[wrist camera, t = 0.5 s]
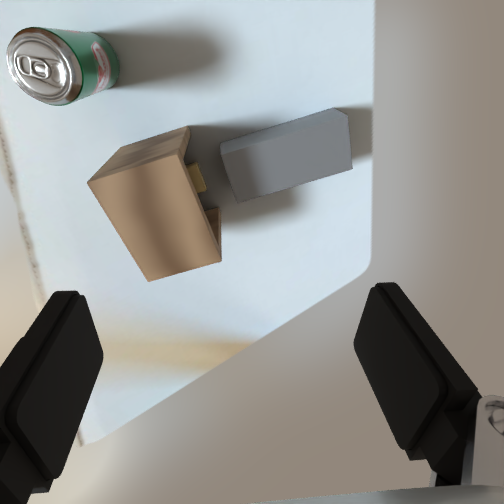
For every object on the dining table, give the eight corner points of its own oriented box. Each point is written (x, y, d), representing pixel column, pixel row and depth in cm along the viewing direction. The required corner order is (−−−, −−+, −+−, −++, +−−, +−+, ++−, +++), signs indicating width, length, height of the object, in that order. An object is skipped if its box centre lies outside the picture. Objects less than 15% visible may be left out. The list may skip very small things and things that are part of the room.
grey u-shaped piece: (333, 107, 37) (347, 115, 33) (338, 156, 40) (352, 169, 36) (220, 143, 38) (220, 155, 34) (235, 187, 41) (237, 203, 37)
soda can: (119, 95, 34) (79, 115, 24) (69, 81, 33) (5, 97, 23) (122, 41, 31) (77, 39, 21) (67, 25, 30) (-7, 14, 20)
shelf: (187, 125, 36) (176, 154, 27) (220, 213, 43) (221, 261, 33) (120, 147, 37) (86, 182, 27) (163, 230, 44) (148, 281, 34)
